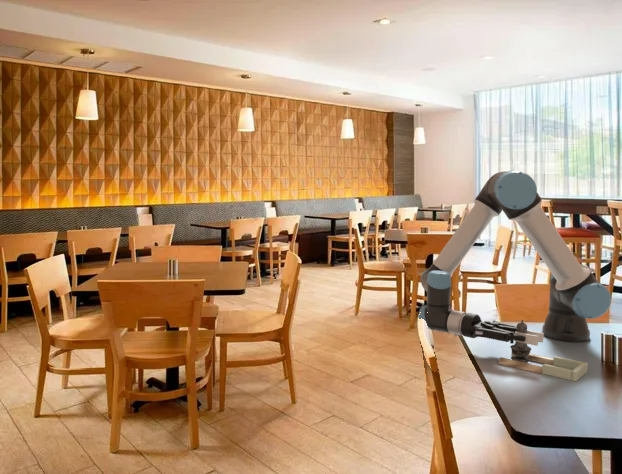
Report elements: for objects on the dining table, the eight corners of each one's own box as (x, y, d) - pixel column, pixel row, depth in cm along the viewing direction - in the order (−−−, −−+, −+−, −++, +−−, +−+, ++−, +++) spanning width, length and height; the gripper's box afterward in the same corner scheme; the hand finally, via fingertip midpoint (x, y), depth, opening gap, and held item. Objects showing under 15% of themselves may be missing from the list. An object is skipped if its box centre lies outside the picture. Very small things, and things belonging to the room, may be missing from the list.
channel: (498, 363, 162) (498, 358, 162) (513, 354, 170) (513, 350, 170) (541, 373, 154) (541, 368, 154) (554, 364, 162) (555, 359, 162)
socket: (541, 373, 154) (542, 364, 154) (554, 364, 162) (555, 356, 161) (575, 381, 148) (576, 372, 148) (587, 371, 156) (587, 363, 155)
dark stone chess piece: (532, 363, 160) (534, 322, 158) (511, 361, 161) (513, 321, 159) (528, 357, 165) (531, 317, 164) (508, 355, 166) (510, 316, 165)
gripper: (476, 330, 181) (549, 345, 165) (452, 341, 169) (528, 358, 153) (477, 308, 180) (551, 321, 164) (452, 317, 168) (530, 332, 152)
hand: (540, 339), depth 159 cm, fingers closed on dark stone chess piece, 4 cm apart
